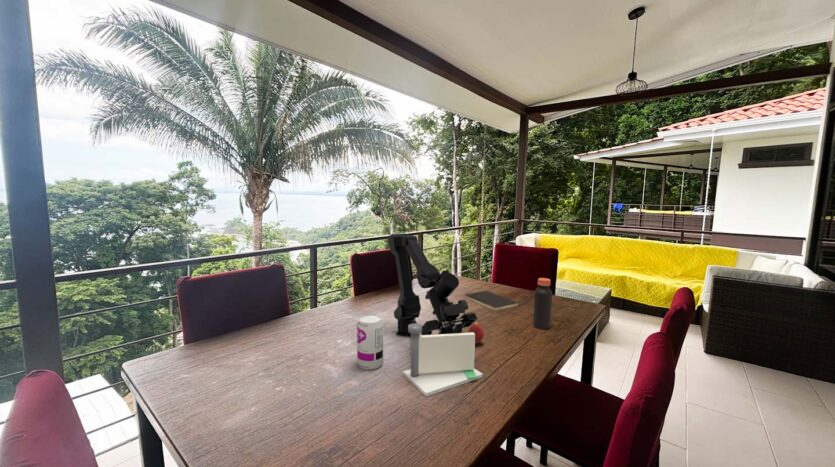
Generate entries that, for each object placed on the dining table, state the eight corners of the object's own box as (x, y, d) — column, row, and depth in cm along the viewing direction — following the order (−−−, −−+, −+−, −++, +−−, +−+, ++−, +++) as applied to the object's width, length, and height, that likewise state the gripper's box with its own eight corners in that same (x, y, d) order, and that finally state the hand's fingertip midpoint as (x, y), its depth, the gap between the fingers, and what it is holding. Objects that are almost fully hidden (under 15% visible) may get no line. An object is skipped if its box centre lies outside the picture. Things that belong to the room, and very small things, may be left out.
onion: (483, 347, 122) (484, 326, 121) (467, 346, 123) (467, 324, 122) (483, 341, 128) (484, 320, 127) (468, 339, 129) (468, 318, 128)
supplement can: (362, 373, 104) (361, 325, 102) (354, 361, 111) (353, 316, 109) (387, 367, 108) (387, 321, 106) (377, 356, 115) (377, 312, 113)
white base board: (428, 398, 91) (428, 394, 91) (402, 374, 103) (402, 370, 103) (485, 378, 102) (486, 374, 102) (457, 358, 114) (457, 354, 114)
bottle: (547, 323, 145) (550, 277, 143) (552, 330, 139) (555, 281, 136) (531, 322, 146) (533, 277, 144) (535, 329, 139) (537, 281, 137)
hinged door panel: (408, 378, 99) (409, 329, 97) (406, 371, 103) (407, 323, 101) (475, 373, 102) (476, 325, 100) (471, 367, 106) (472, 320, 104)
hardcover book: (494, 312, 161) (494, 307, 160) (464, 298, 180) (464, 294, 180) (519, 306, 169) (519, 302, 168) (487, 294, 188) (487, 290, 188)
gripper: (426, 295, 102) (446, 345, 94) (474, 287, 111) (497, 332, 103) (412, 313, 110) (430, 360, 101) (459, 304, 119) (479, 347, 111)
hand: (460, 349), depth 104 cm, fingers closed
